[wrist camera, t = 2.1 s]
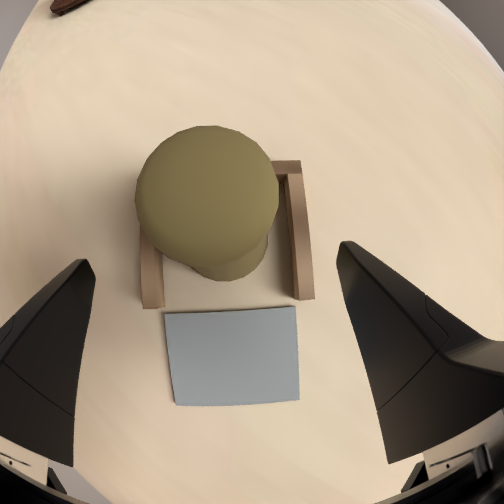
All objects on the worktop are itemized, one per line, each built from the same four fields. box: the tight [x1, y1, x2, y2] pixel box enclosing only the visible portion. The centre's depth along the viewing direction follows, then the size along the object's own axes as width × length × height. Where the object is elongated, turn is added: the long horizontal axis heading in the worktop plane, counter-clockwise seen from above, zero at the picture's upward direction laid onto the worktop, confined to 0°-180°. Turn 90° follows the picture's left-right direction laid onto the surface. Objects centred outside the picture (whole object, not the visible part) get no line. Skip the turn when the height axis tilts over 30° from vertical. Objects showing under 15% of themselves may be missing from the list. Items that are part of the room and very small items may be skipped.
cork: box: [135, 126, 279, 281], centre depth 13 cm, size 6×6×11 cm
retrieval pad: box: [164, 306, 300, 406], centre depth 18 cm, size 7×9×1 cm
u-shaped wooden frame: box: [140, 160, 315, 309], centre depth 18 cm, size 9×11×2 cm
